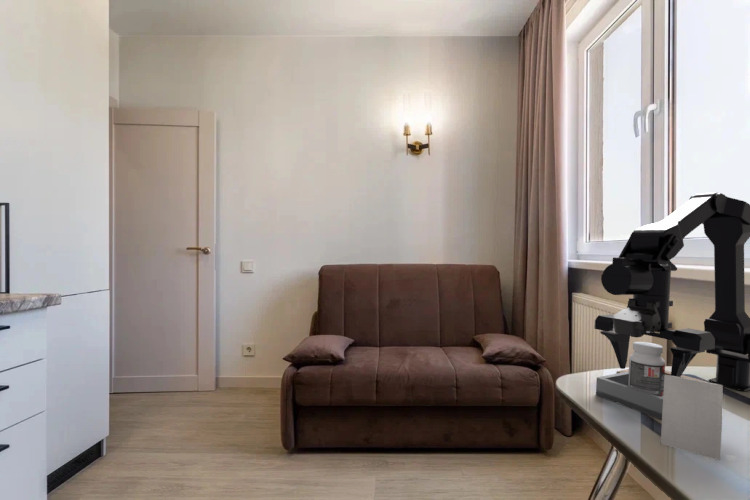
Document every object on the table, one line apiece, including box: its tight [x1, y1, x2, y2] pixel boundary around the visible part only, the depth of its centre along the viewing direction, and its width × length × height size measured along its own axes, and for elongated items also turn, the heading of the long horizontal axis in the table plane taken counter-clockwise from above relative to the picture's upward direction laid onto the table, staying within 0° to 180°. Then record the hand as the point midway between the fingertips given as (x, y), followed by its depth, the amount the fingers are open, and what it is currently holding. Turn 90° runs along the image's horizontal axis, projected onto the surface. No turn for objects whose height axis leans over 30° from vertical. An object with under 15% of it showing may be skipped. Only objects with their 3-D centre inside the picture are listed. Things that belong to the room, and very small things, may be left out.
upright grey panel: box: [660, 375, 724, 460], centre depth 60 cm, size 4×7×10 cm, turn 53°
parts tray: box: [595, 371, 663, 421], centre depth 77 cm, size 12×12×4 cm
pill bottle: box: [628, 341, 666, 397], centre depth 77 cm, size 6×6×10 cm
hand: (646, 375), depth 77 cm, fingers open, 9 cm apart
